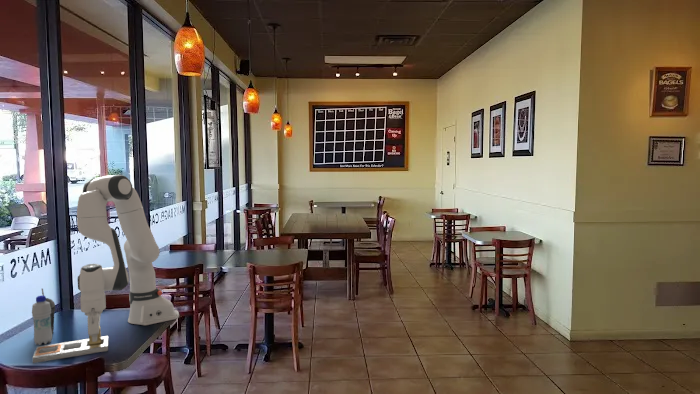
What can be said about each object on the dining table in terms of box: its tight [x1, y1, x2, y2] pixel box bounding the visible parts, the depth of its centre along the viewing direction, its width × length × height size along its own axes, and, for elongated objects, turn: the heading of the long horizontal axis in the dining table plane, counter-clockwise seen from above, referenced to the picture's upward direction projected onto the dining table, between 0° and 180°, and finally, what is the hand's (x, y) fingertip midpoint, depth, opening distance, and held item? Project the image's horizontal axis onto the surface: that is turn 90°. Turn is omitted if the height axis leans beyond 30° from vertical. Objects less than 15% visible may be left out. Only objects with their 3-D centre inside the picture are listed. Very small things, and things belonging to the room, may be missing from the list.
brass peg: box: [88, 325, 102, 346], centre depth 191 cm, size 4×4×8 cm
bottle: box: [31, 295, 53, 346], centre depth 195 cm, size 7×7×20 cm
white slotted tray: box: [32, 335, 109, 364], centre depth 187 cm, size 25×12×2 cm, turn 116°
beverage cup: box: [41, 288, 56, 334], centre depth 206 cm, size 7×7×20 cm
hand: (95, 338), depth 191 cm, fingers closed on brass peg, 4 cm apart
